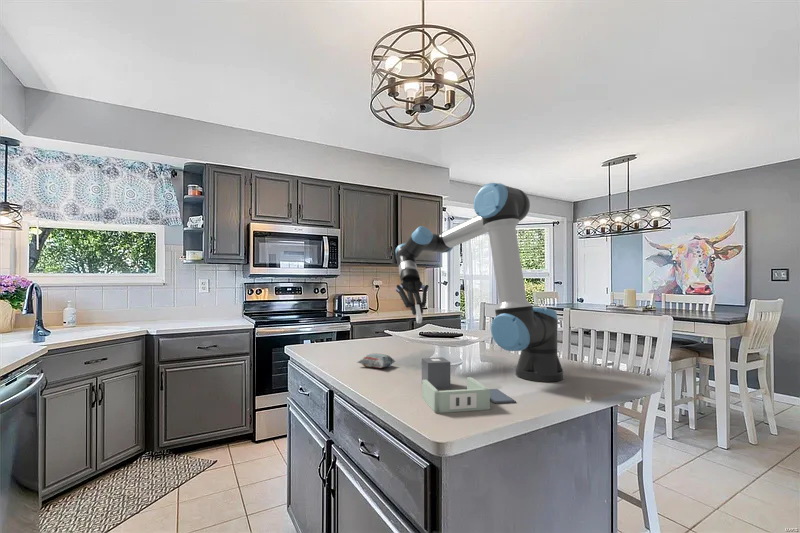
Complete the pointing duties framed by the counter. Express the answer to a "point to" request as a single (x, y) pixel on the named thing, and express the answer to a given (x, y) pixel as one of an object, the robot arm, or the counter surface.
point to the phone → (500, 397)
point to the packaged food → (376, 360)
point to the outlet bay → (457, 397)
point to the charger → (436, 372)
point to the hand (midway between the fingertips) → (419, 320)
